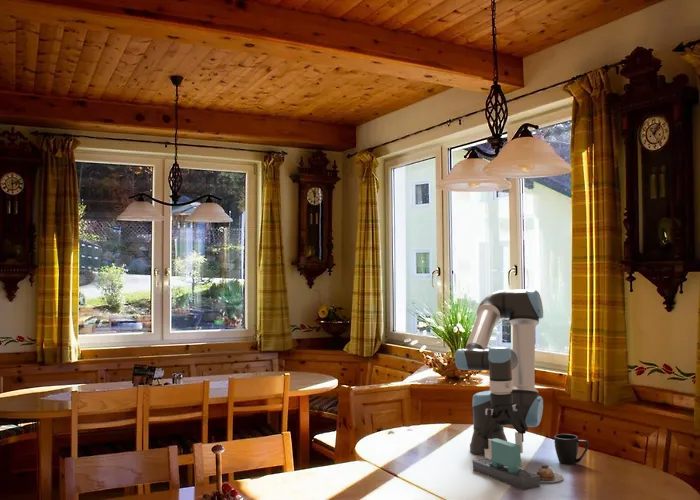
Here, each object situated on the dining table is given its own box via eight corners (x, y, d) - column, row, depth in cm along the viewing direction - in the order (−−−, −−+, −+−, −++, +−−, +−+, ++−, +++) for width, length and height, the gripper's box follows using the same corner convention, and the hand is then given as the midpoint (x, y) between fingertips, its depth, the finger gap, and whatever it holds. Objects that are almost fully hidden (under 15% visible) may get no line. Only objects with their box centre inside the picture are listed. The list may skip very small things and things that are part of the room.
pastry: (558, 487, 211) (557, 473, 211) (522, 482, 217) (521, 468, 217) (567, 477, 221) (566, 463, 221) (532, 473, 227) (531, 459, 227)
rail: (472, 470, 231) (472, 460, 231) (488, 467, 234) (488, 457, 234) (523, 490, 207) (523, 479, 208) (540, 486, 211) (539, 475, 211)
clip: (489, 474, 225) (488, 439, 226) (497, 473, 227) (496, 438, 227) (513, 483, 214) (512, 446, 215) (521, 481, 216) (520, 445, 217)
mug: (585, 468, 228) (584, 441, 228) (552, 464, 235) (550, 437, 236) (592, 463, 234) (591, 436, 235) (560, 458, 242) (558, 432, 242)
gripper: (479, 398, 213) (482, 463, 212) (536, 389, 224) (539, 451, 223) (465, 395, 220) (467, 458, 219) (521, 387, 231) (524, 447, 230)
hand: (504, 455), depth 221 cm, fingers open, 13 cm apart
